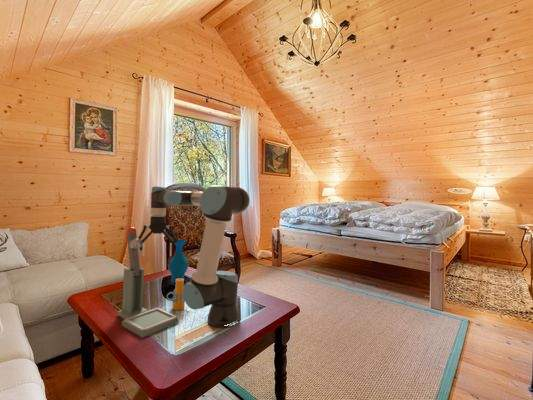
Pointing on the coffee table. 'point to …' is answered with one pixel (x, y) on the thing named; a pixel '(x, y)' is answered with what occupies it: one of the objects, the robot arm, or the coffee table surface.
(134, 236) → the press lever
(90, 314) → the coffee table surface
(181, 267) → the vase
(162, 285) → the coffee table surface
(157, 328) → the press frame
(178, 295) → the cylinder
